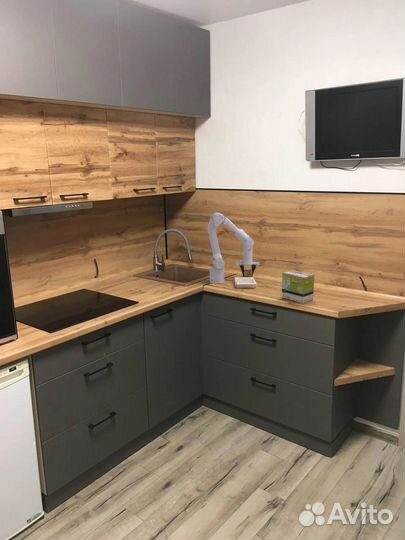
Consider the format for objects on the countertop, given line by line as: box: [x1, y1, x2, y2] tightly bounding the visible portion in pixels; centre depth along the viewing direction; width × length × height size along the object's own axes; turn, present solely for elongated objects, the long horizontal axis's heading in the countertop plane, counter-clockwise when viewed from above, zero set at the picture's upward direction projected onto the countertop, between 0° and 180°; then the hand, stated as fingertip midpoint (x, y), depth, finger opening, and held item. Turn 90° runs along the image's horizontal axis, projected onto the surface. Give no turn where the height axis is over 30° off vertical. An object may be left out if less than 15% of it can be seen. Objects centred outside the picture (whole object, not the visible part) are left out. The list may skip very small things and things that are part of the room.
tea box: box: [281, 269, 315, 304], centre depth 256 cm, size 15×10×15 cm
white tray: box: [234, 276, 258, 289], centre depth 285 cm, size 12×17×4 cm
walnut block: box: [244, 269, 252, 277], centre depth 298 cm, size 5×8×5 cm, turn 1°
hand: (247, 276), depth 298 cm, fingers closed on walnut block, 5 cm apart
